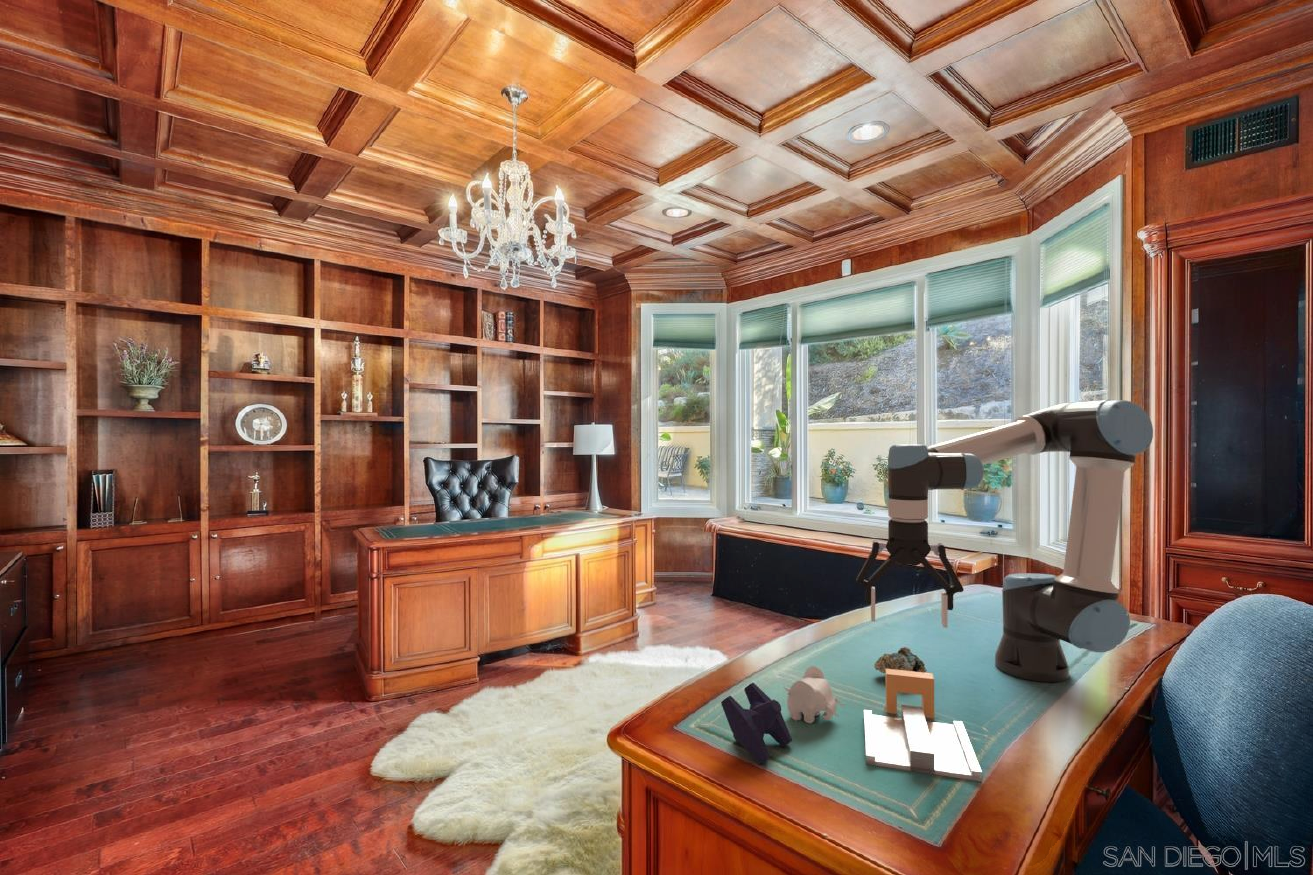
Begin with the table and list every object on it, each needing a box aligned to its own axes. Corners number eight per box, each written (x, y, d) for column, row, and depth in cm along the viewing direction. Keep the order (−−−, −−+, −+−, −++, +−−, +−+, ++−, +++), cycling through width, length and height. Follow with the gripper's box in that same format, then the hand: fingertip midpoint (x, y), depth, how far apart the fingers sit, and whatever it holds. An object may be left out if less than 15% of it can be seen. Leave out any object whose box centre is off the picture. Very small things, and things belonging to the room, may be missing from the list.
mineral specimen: (899, 687, 134) (909, 652, 135) (865, 669, 142) (875, 637, 143) (928, 693, 141) (938, 659, 142) (894, 676, 148) (903, 644, 149)
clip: (932, 711, 124) (932, 673, 124) (934, 718, 121) (934, 679, 121) (885, 706, 127) (885, 668, 127) (886, 712, 124) (886, 673, 124)
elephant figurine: (835, 735, 115) (835, 689, 115) (775, 720, 121) (775, 676, 121) (848, 715, 123) (848, 672, 123) (791, 701, 129) (791, 660, 129)
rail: (962, 729, 116) (962, 711, 116) (981, 781, 99) (981, 760, 99) (863, 717, 122) (863, 700, 122) (866, 764, 105) (866, 744, 105)
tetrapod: (806, 743, 110) (792, 679, 112) (772, 770, 101) (757, 701, 103) (756, 739, 118) (743, 679, 119) (719, 764, 109) (706, 699, 110)
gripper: (971, 519, 123) (972, 622, 124) (844, 514, 131) (844, 611, 131) (979, 524, 116) (979, 634, 116) (844, 519, 124) (844, 622, 124)
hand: (908, 622), depth 124 cm, fingers open, 13 cm apart
